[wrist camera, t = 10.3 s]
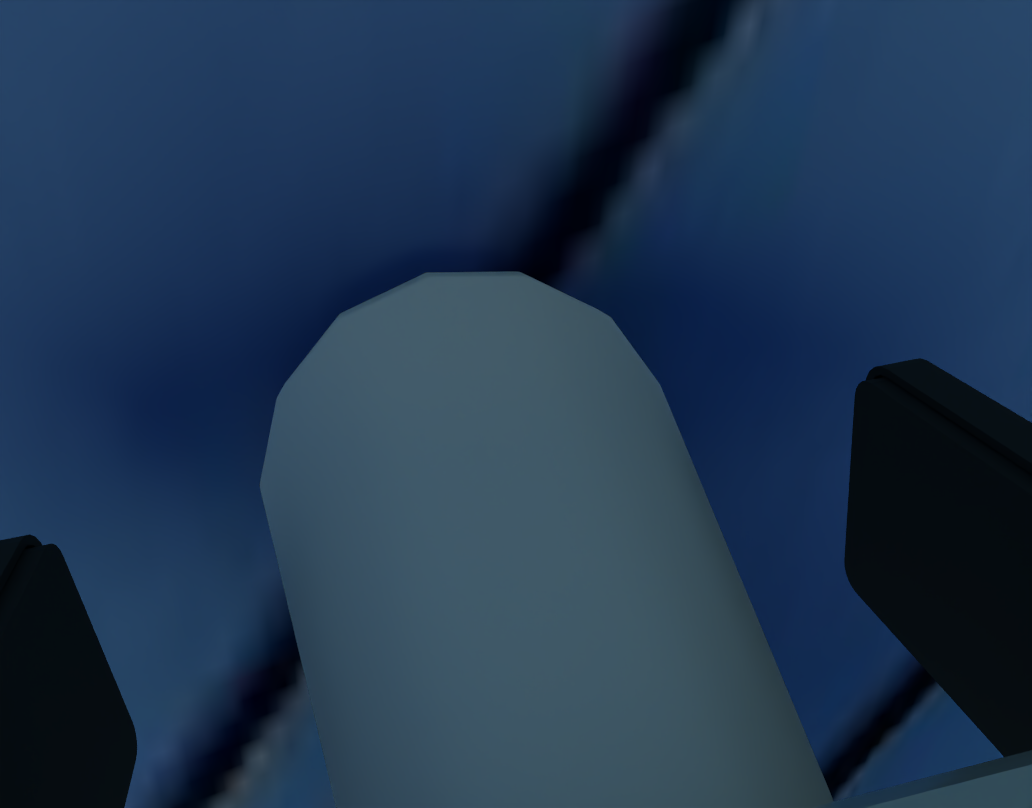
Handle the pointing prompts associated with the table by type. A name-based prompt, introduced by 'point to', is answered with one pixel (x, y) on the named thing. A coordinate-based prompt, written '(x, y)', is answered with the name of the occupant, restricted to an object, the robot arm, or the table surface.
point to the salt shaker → (515, 567)
